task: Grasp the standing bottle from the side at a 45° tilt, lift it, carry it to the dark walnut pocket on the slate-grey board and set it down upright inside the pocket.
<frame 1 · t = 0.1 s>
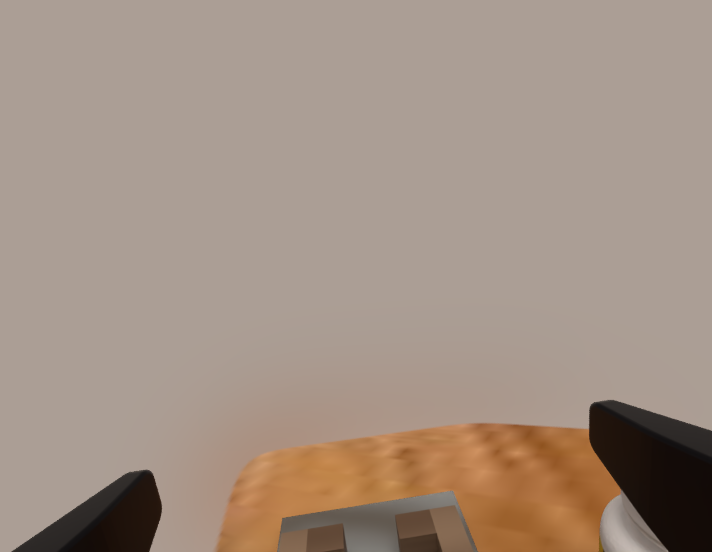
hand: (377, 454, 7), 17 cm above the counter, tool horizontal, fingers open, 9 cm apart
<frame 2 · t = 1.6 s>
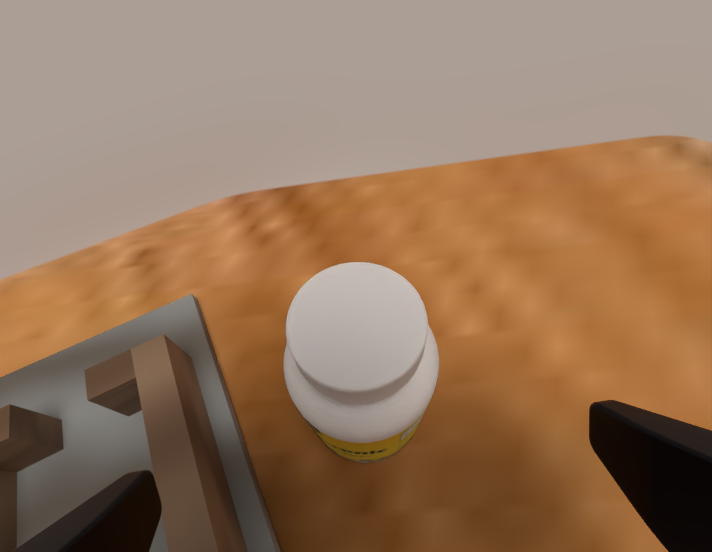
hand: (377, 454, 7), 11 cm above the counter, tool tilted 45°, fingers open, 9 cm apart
supplement bottle: (366, 406, 18), on the counter
pocket: (116, 509, 16), on the counter
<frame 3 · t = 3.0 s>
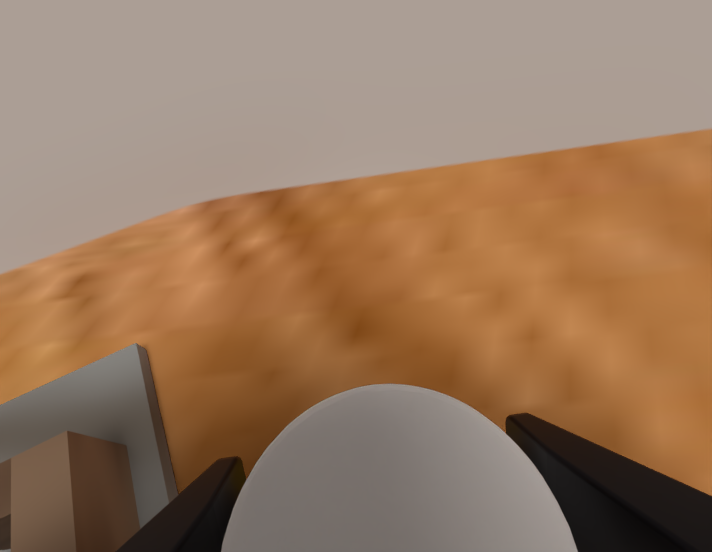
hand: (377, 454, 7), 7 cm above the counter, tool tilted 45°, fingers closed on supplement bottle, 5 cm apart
supplement bottle: (383, 524, 12), on the counter, touching gripper
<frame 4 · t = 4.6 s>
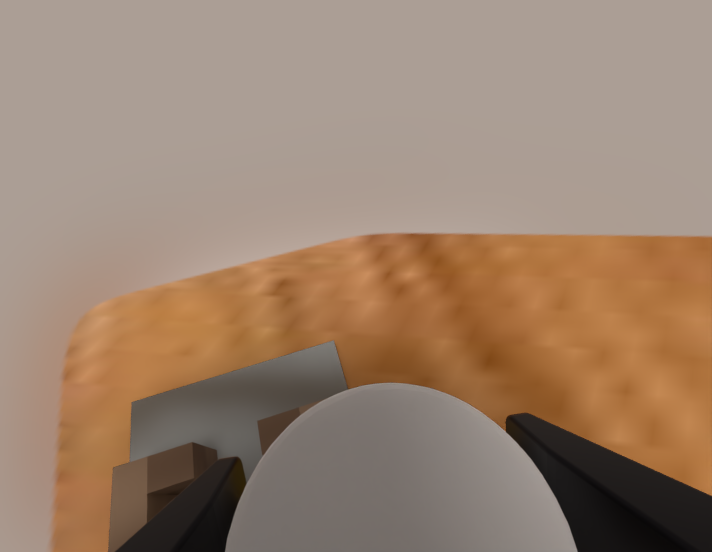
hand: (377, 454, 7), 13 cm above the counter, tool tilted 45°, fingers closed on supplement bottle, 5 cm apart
supplement bottle: (384, 522, 12), point 6 cm above the counter, touching gripper
pocket: (263, 551, 17), on the counter
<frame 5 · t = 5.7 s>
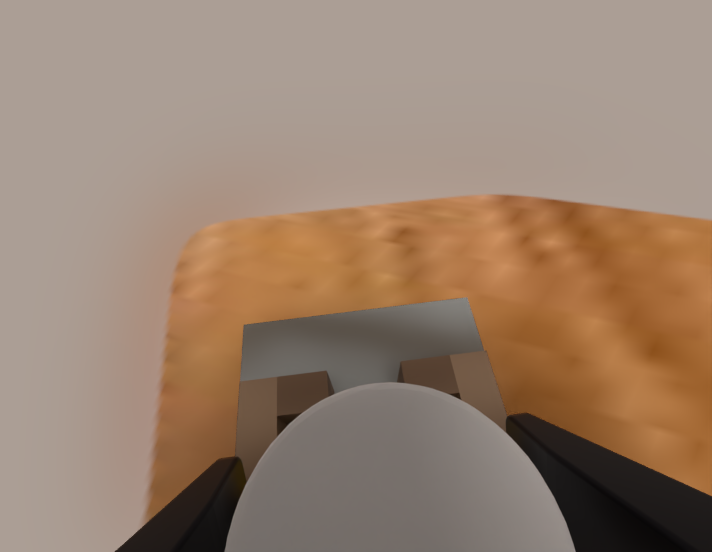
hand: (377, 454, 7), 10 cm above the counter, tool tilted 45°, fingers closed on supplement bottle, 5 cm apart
supplement bottle: (381, 522, 12), point 3 cm above the counter, touching gripper
pocket: (381, 511, 15), on the counter
when the fingers open (8 cm above the counter, at t = 6.4 s): supplement bottle stays where it is, resting on pocket.
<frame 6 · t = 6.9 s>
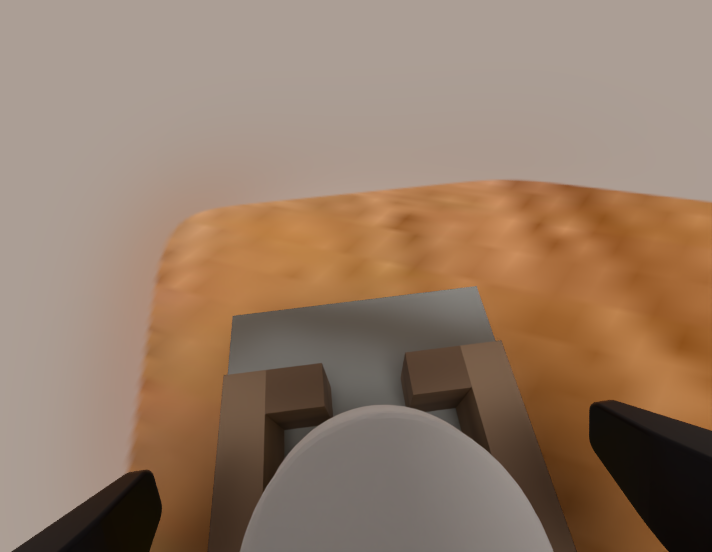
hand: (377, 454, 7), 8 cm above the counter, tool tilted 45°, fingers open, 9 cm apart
supplement bottle: (382, 530, 13), point 1 cm above the counter, touching pocket
pocket: (383, 522, 13), on the counter
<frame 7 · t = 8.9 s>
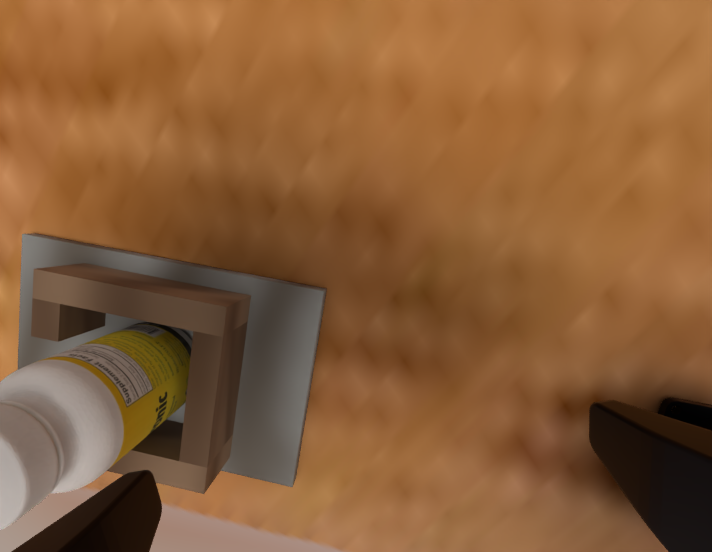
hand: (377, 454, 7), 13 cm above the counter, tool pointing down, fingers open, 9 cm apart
supplement bottle: (163, 362, 21), point 1 cm above the counter, touching pocket
pocket: (167, 356, 22), on the counter
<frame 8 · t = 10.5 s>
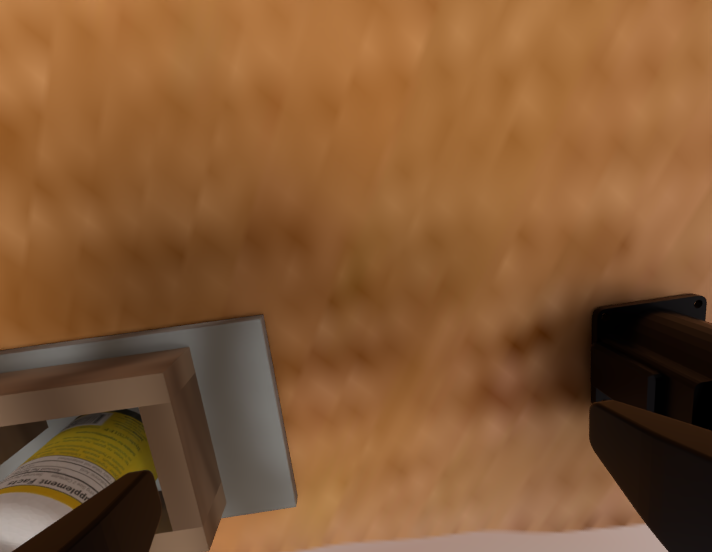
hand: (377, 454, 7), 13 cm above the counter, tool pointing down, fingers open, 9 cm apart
supplement bottle: (125, 440, 20), point 1 cm above the counter, touching pocket
pocket: (127, 432, 21), on the counter
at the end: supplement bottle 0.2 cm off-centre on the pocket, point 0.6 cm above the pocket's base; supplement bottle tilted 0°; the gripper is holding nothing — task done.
